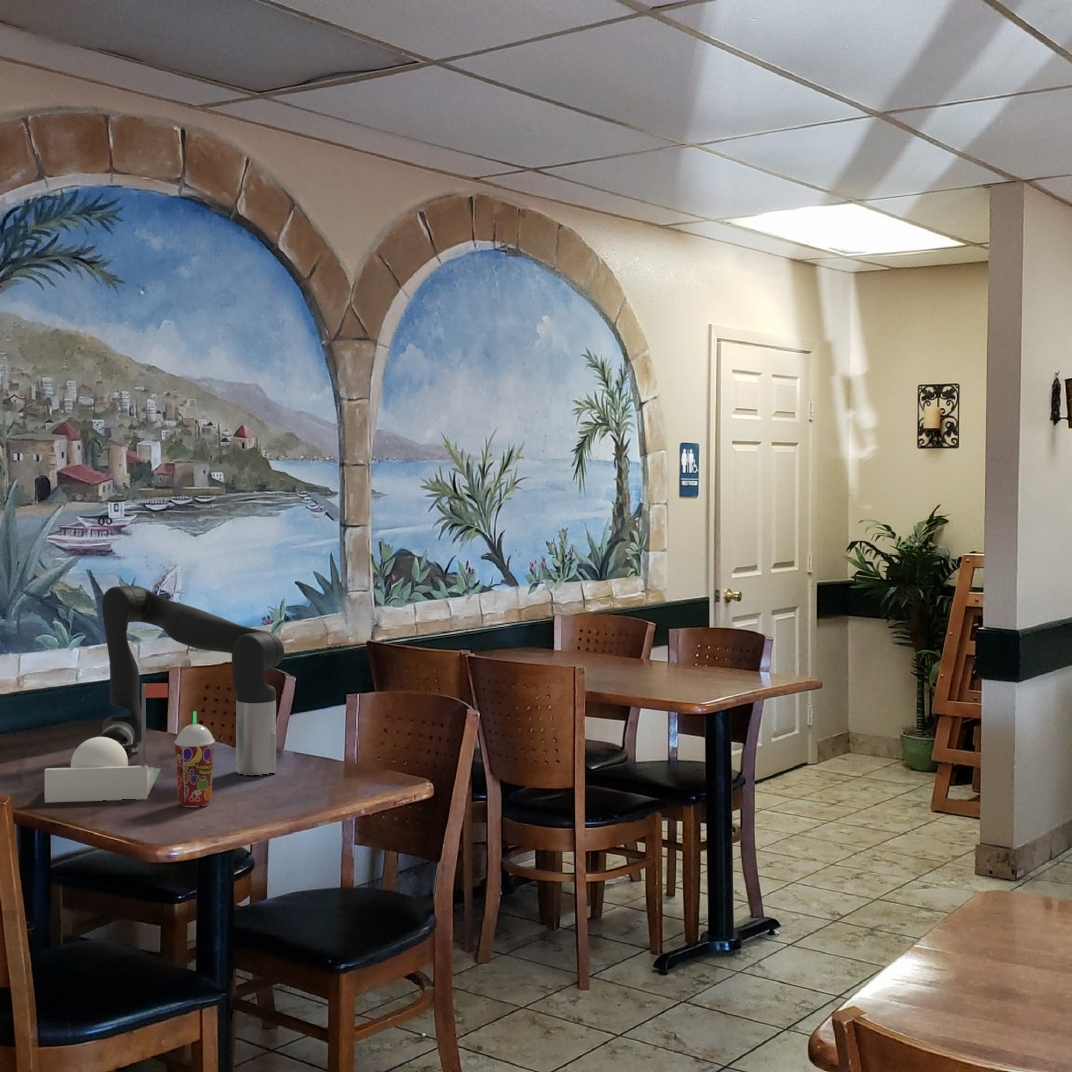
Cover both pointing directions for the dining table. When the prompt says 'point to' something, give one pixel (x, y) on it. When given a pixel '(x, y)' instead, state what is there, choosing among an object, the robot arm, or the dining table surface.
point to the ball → (99, 754)
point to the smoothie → (194, 764)
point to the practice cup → (106, 772)
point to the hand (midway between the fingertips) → (104, 757)
